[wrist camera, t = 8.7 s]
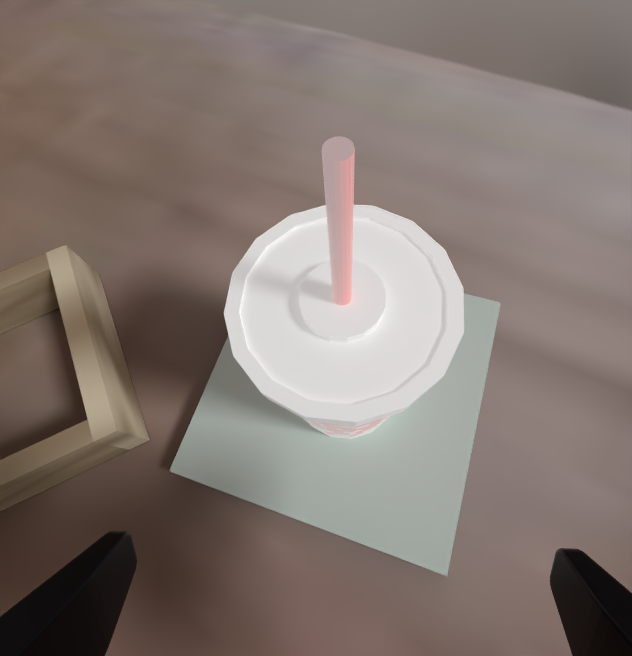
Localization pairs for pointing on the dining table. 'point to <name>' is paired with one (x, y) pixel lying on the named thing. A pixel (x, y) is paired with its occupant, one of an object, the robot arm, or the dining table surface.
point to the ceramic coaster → (350, 454)
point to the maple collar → (90, 365)
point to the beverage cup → (344, 309)
